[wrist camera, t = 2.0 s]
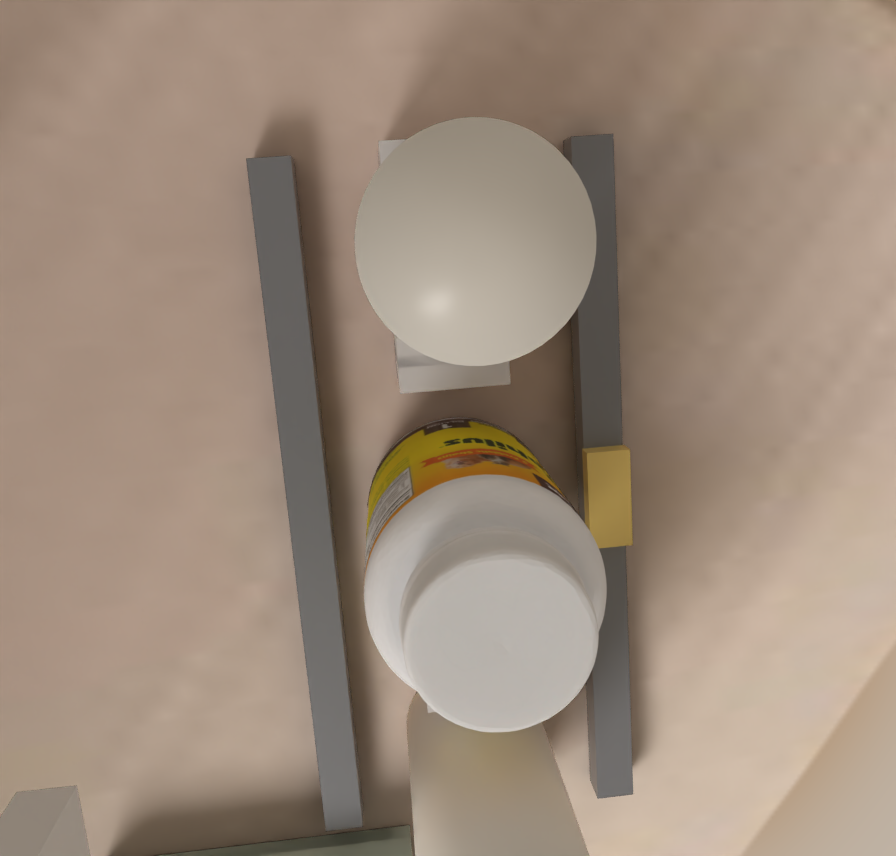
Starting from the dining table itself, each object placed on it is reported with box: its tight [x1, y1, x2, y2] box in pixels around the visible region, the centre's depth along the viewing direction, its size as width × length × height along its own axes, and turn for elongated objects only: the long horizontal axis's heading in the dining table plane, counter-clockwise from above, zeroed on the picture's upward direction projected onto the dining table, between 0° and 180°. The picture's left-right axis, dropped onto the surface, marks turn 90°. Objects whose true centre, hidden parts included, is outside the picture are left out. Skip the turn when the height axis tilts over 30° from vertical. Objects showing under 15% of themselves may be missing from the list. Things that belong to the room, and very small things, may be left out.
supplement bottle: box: [364, 418, 607, 732], centre depth 22 cm, size 6×6×10 cm
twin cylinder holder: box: [246, 117, 633, 856], centre depth 22 cm, size 21×10×10 cm, turn 4°
